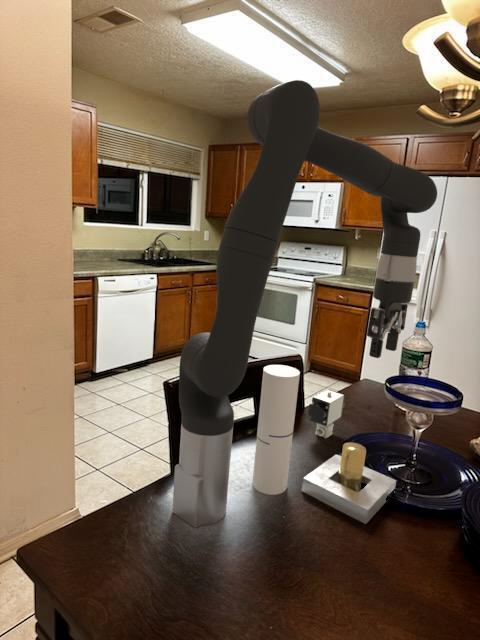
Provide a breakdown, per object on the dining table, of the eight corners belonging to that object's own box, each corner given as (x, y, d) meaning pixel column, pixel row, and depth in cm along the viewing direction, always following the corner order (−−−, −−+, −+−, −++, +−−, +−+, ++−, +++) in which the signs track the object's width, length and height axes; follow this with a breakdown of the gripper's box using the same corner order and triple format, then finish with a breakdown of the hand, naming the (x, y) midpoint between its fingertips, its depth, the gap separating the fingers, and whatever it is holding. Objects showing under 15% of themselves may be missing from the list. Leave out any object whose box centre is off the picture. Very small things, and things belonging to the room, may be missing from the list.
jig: (365, 524, 82) (367, 509, 81) (301, 491, 90) (303, 477, 90) (394, 493, 92) (396, 480, 92) (334, 466, 101) (336, 454, 100)
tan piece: (353, 501, 88) (360, 456, 86) (332, 491, 91) (339, 447, 89) (362, 492, 92) (370, 448, 89) (342, 482, 95) (349, 440, 92)
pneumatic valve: (341, 430, 119) (347, 389, 116) (320, 445, 110) (326, 400, 107) (323, 424, 122) (329, 383, 120) (301, 437, 113) (307, 394, 111)
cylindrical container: (284, 497, 88) (298, 379, 82) (249, 490, 89) (260, 373, 84) (288, 478, 94) (301, 367, 89) (255, 472, 96) (266, 362, 90)
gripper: (390, 274, 98) (379, 344, 101) (362, 276, 87) (351, 354, 90) (424, 278, 93) (412, 352, 97) (400, 281, 82) (387, 364, 86)
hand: (382, 353), depth 93 cm, fingers open, 8 cm apart
